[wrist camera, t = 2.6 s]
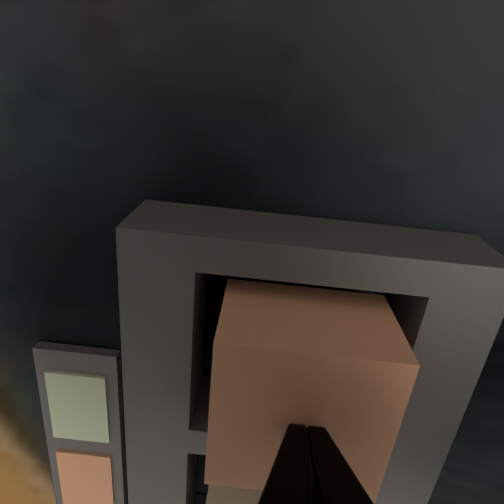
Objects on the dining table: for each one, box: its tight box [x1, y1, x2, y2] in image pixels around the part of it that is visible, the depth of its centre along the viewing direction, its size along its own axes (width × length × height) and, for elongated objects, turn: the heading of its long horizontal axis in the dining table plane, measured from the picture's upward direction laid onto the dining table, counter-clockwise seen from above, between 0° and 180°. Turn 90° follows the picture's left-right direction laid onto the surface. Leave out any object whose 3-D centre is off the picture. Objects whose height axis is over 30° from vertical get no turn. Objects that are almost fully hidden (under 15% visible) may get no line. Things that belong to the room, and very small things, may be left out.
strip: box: [32, 341, 128, 504], centre depth 16 cm, size 9×3×1 cm, turn 175°
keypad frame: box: [116, 200, 504, 504], centre depth 15 cm, size 20×10×2 cm, turn 175°
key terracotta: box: [204, 279, 420, 503], centre depth 11 cm, size 4×4×3 cm
